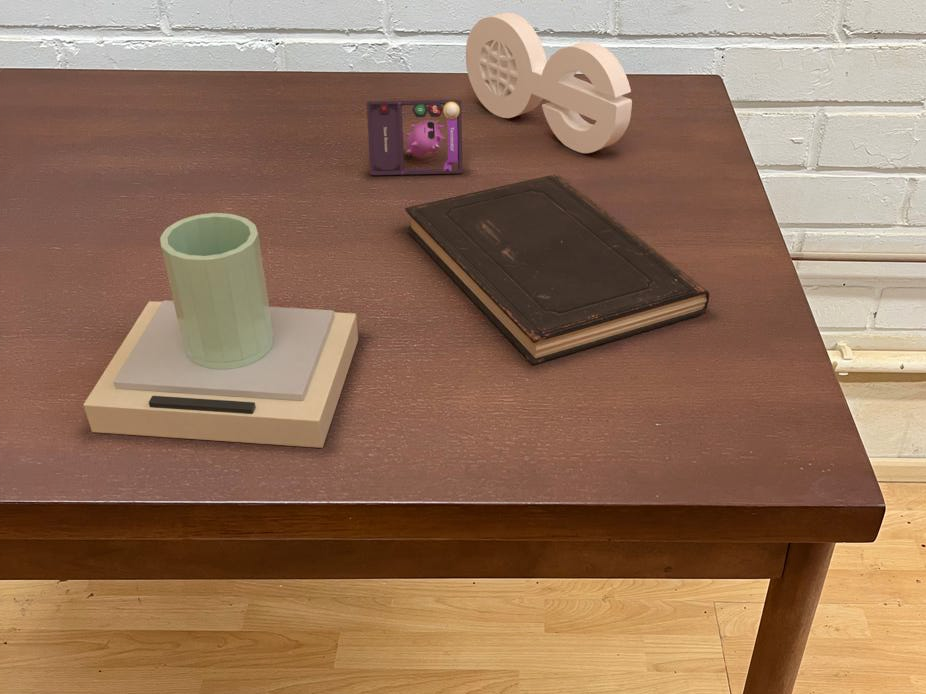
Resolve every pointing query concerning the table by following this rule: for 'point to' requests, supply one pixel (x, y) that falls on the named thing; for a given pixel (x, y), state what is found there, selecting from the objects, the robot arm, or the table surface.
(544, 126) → the table surface
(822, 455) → the table surface
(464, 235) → the hardcover book
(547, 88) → the beige logo cutout
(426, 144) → the game card
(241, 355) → the cup
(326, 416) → the scale
